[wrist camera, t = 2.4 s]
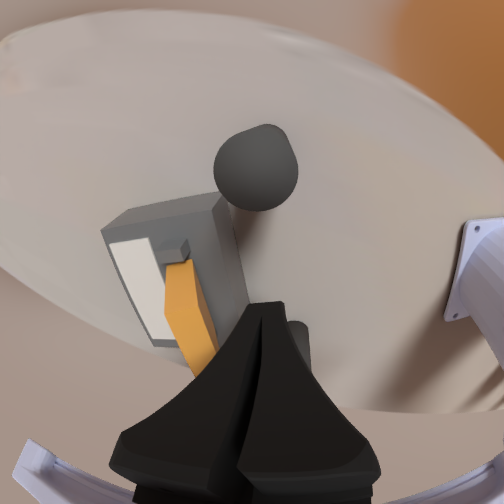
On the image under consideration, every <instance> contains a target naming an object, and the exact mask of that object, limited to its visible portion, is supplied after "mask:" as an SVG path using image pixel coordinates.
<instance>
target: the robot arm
mask: <svg viewBox="0 0 504 504" xmlns="http://www.w3.org/2000/svg"><path fill="white" fill-rule="evenodd" d="M476 226H477V227H476ZM475 227H476V229H475ZM474 229H475V230H474ZM468 316H471V317H472V319H473V320H474V322H475V323H476V325H477V326H478V328H479V329H480V331H481V333H482V334H483V336H484V337H485V339H486V341H487V342H488V344H489V346H490V347H491V349H492V351H493V353H494V354H495V356H496V358H497V360H498V362H499V363H500V365H501V367H502V369H503V371H504V217H500V218H489V219H478V220H469V221H467V222H466V224H465V225H464V229H463V236H462V242H461V248H460V253H459V258H458V263H457V268H456V272H455V276H454V281H453V285H452V289H451V292H450V296H449V300H448V303H447V306H446V310H445V313H444V319H445V321H446V322H450V321H454V320H457V319H461V318H465V317H468ZM503 441H504V440H503ZM109 467H110V468H111V469H112V470H113V471H114V472H116V473H117V474H119V475H121V476H123V477H124V478H126V479H128V480H130V481H131V482H133V483H136V484H137V486H136V489H135V492H133V491H130V490H127V489H124V488H122V487H119V486H116V485H114V484H111V483H109V482H106V481H104V480H102V479H99V478H97V477H95V476H93V475H91V474H88V473H86V472H84V471H82V470H80V469H78V468H76V467H74V466H72V465H70V464H69V463H67V462H65V461H63V460H61V459H59V458H58V457H56V455H54V454H53V453H51V452H50V451H49V450H47V449H46V448H44V447H43V446H41V445H40V444H38V443H36V442H35V441H33V440H32V439H30V438H29V439H28V441H27V443H26V445H25V447H24V449H23V451H22V453H21V455H20V458H19V460H18V462H17V464H16V466H15V469H14V471H13V473H12V477H13V478H14V479H15V480H16V481H17V482H18V483H20V484H21V485H22V486H23V487H24V488H25V489H26V490H27V491H28V492H30V494H31V495H32V496H33V497H35V498H36V499H37V500H38V501H39V502H40V503H41V504H371V497H372V496H373V489H372V484H373V483H374V482H375V481H376V480H378V478H379V477H380V475H381V469H380V465H379V462H378V460H377V457H376V455H375V453H374V451H373V449H372V447H371V445H370V443H369V441H368V440H367V439H366V438H365V437H364V436H363V435H362V434H361V433H360V432H359V431H358V430H357V429H356V428H355V427H354V426H353V425H352V424H351V423H350V422H349V421H348V420H347V419H346V417H345V416H344V415H343V414H342V413H341V412H340V411H339V410H338V408H337V407H336V406H335V404H334V403H333V402H332V401H331V399H330V398H329V397H328V396H327V394H326V393H325V392H324V390H323V389H322V388H321V386H320V385H319V383H318V382H317V380H316V379H315V377H314V376H313V374H312V372H311V371H310V369H309V368H308V366H307V364H306V362H305V360H304V359H303V357H302V355H301V353H300V351H299V349H298V347H297V345H296V343H295V340H294V338H293V336H292V333H291V331H290V328H289V325H288V322H287V319H286V314H285V306H284V303H283V302H282V301H276V302H265V303H252V304H248V305H247V306H246V308H245V310H244V312H243V314H242V315H241V317H240V319H239V321H238V322H237V324H236V326H235V327H234V329H233V330H232V332H231V333H230V335H229V336H228V338H227V339H226V341H225V342H224V344H223V345H222V347H221V348H220V349H219V351H218V352H217V353H216V354H215V356H214V357H213V358H212V360H211V361H210V362H209V363H208V365H207V366H206V367H205V368H204V369H203V370H202V371H201V372H200V374H199V375H198V376H197V377H196V378H195V379H194V380H193V381H192V382H191V383H190V384H189V385H188V386H187V387H186V388H184V389H183V390H182V391H181V392H180V393H179V394H178V395H177V396H176V397H174V398H173V399H172V400H171V401H169V402H168V403H167V404H165V405H164V406H163V407H161V408H160V409H159V410H157V411H156V412H155V413H153V414H152V415H150V416H149V417H147V418H146V419H144V420H142V421H141V422H139V423H137V424H136V425H134V426H132V427H130V428H128V429H127V430H125V431H123V432H121V434H120V436H119V438H118V441H117V443H116V446H115V448H114V451H113V454H112V457H111V459H110V462H109ZM384 504H504V451H503V452H501V453H500V454H498V455H497V456H496V457H495V458H494V459H493V460H491V461H489V462H488V463H486V464H484V465H482V466H480V467H479V468H477V469H475V470H473V471H471V472H469V473H467V474H465V475H463V476H460V477H458V478H456V479H454V480H451V481H449V482H447V483H444V484H442V485H440V486H437V487H435V488H432V489H429V490H426V491H424V492H421V493H418V494H415V495H412V496H409V497H406V498H402V499H399V500H395V501H392V502H388V503H384Z"/></svg>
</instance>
